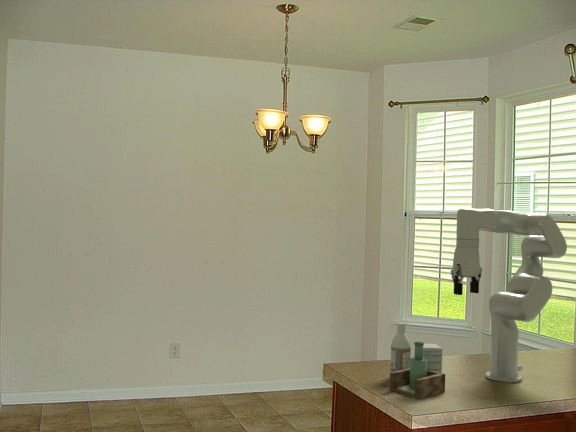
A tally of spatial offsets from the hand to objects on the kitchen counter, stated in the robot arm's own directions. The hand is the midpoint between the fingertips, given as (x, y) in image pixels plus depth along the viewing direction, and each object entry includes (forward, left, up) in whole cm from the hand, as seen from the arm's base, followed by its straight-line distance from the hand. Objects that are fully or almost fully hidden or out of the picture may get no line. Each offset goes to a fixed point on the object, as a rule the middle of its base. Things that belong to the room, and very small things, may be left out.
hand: (466, 293), depth 211 cm
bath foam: (+10, -20, -33) cm, 39 cm away
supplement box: (+4, -12, -33) cm, 35 cm away
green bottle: (+18, -6, -31) cm, 36 cm away
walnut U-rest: (+18, -6, -32) cm, 37 cm away
